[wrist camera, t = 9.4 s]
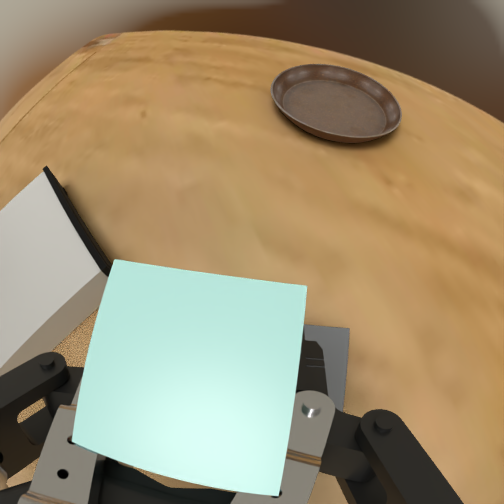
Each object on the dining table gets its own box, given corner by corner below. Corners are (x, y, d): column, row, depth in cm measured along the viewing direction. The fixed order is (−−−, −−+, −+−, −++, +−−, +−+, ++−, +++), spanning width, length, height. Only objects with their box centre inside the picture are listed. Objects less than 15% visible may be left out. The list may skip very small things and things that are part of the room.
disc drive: (129, 286, 28) (107, 264, 23) (-3, 411, 21) (-34, 406, 17) (65, 189, 34) (47, 164, 29) (-40, 296, 27) (-64, 282, 23)
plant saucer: (330, 68, 44) (332, 54, 41) (417, 126, 37) (423, 111, 34) (244, 101, 39) (243, 84, 37) (339, 177, 33) (345, 158, 30)
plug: (192, 419, 15) (71, 443, 4) (204, 350, 17) (115, 256, 6) (264, 431, 15) (277, 498, 4) (275, 360, 17) (307, 283, 6)
